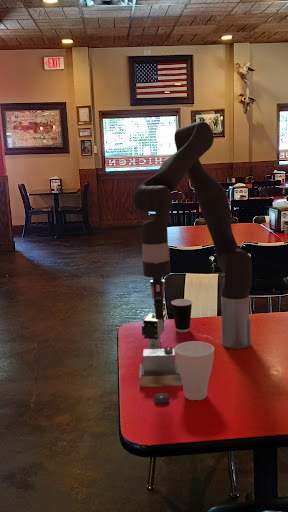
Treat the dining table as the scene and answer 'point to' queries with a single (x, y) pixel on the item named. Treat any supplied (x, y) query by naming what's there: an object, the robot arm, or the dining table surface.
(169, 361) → the block
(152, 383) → the stand
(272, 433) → the dining table surface
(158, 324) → the pneumatic valve
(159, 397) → the black cap
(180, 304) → the dixie cup
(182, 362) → the cup
